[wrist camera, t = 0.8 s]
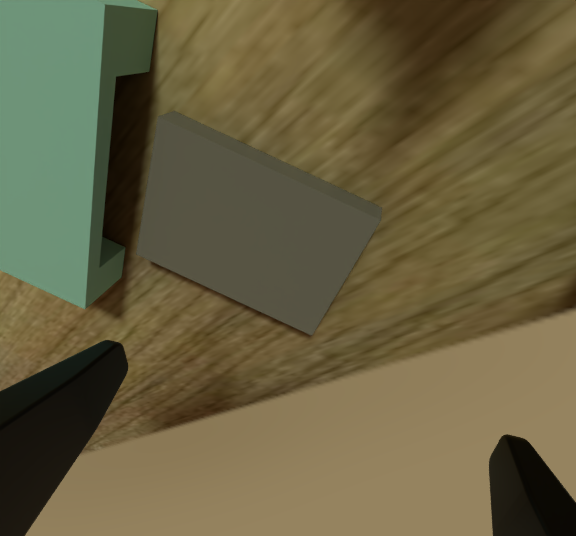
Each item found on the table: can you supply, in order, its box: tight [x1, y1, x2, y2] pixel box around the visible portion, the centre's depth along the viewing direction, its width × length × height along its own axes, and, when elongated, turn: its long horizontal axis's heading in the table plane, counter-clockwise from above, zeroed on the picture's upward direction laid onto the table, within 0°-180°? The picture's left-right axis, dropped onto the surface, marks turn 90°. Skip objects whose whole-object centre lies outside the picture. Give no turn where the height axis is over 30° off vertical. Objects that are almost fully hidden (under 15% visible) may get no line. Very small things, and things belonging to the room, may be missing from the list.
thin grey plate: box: [136, 111, 382, 336], centre depth 20 cm, size 11×8×2 cm
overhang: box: [0, 0, 158, 309], centre depth 19 cm, size 10×15×4 cm, turn 158°
